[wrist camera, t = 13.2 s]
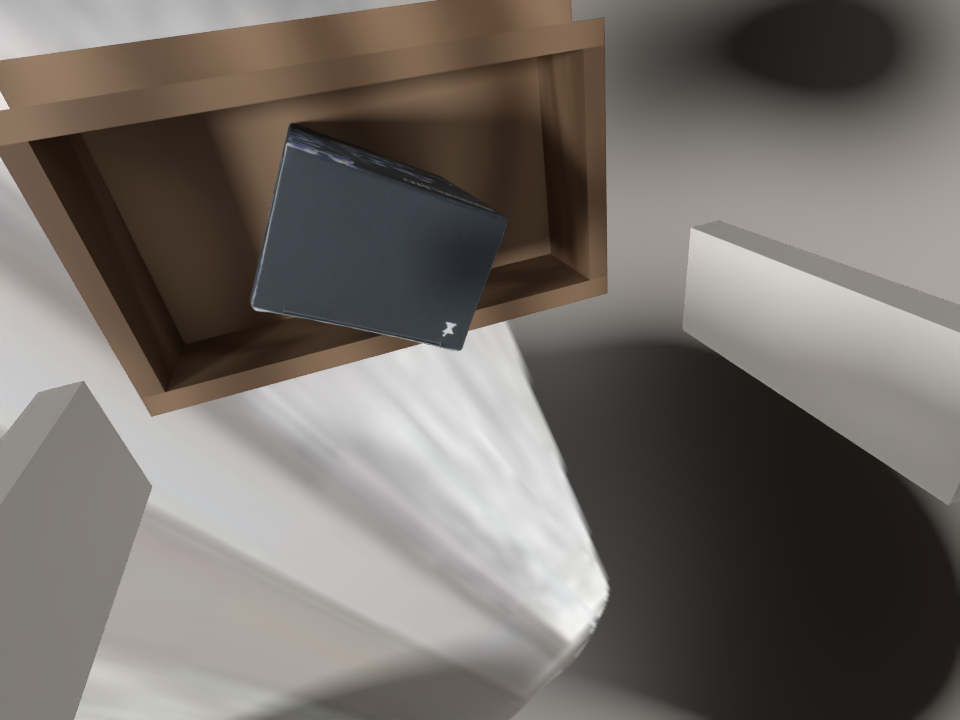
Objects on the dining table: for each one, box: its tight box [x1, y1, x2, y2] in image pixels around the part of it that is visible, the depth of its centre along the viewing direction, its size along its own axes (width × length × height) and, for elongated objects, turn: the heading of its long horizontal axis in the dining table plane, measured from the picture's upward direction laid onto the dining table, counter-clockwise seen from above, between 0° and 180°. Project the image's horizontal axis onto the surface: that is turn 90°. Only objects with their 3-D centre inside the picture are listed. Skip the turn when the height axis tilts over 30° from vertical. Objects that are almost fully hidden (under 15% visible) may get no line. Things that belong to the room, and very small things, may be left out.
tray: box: [0, 0, 607, 417], centre depth 25 cm, size 25×16×6 cm, turn 99°
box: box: [250, 123, 508, 351], centre depth 22 cm, size 8×6×11 cm
